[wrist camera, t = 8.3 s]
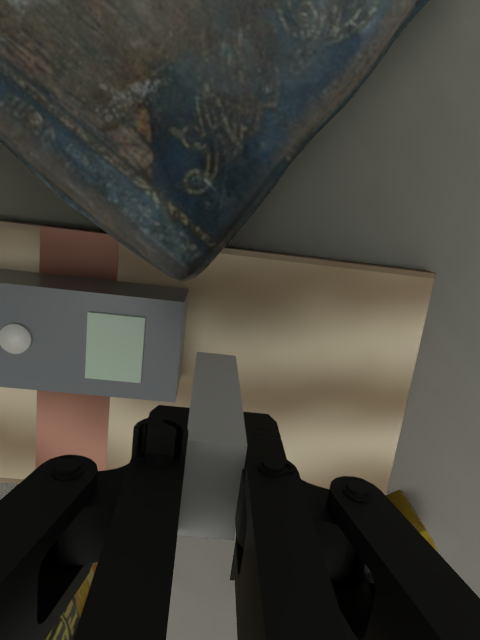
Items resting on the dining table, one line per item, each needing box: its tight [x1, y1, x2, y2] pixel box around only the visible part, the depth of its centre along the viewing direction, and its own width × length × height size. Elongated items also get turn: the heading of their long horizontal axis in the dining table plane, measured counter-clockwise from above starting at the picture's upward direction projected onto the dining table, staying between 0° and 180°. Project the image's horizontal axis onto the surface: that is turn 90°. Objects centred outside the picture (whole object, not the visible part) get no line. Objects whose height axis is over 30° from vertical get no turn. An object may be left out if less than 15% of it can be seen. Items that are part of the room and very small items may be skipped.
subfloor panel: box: [0, 219, 436, 495], centre depth 26 cm, size 15×26×1 cm, turn 83°
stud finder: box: [0, 269, 189, 403], centre depth 23 cm, size 5×10×4 cm, turn 83°
